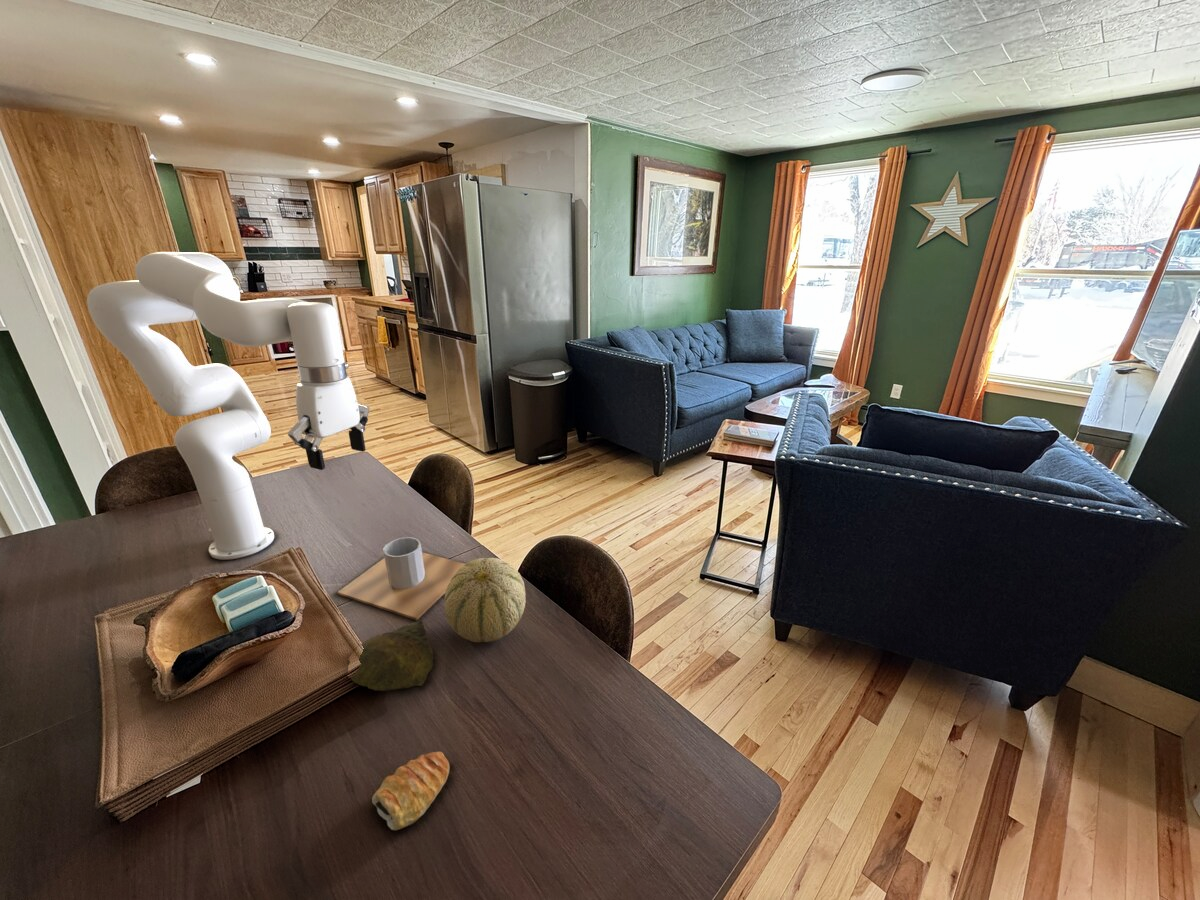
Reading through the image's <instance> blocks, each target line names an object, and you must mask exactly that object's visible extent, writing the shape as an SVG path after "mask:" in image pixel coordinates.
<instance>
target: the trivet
mask: <svg viewBox="0 0 1200 900" xmlns="http://www.w3.org/2000/svg"><path fill="white" fill-rule="evenodd" d="M422 556H423V563H424V570H425V577H424V579H423V580H422V582H420V583H419V584H418V585H416V586H413V587H411V588H406V589H397V588H394V587H392V586H391V585H390V584H389V580H388V574H387V568H386V563H385V557H383V558H382V559H381V560H379V561H378V562H376V563H375V564H374V565H371V567H369V568H368V569H367V570H366V571H364V572H363V573H361V574H360V575H359V576H358V577H355V578H354V579H353V580H352V581H351V582H349V583H347V584H346V585H345V586H344V587H343V588H341V589H340V590H338V591H337V595H339V596H342V597H345V598H347V599H351V600H353V601H357V602H360V603H363V604H365V605H369V606H371V607H375V608H378V609H381V610H384V611H388V612H390V613H394V614H396V615H400V616H402V617H406V618H408V619H412V620H414V621H419V619H420V618H421V617H422V616H423V615H424V614H425V613H426V612H427V611H428V610H429V609H430V608H432V607H433V606H434V605H435V604H436V603H437V601H438V600H440V599H441V598H442V597H443V596H445V593H446V589H447V586H448V584H449V583H450V581H451V579H452V578H453V576H454V575H455V574H456V572H457V571H458V570H459V569H460V568H461V567H463V566H464V565H465V564H466V563H463V562H460V561H457V560H452V559H448V558H445V557H442V556H438V555H434V554H431V553H427V552H423V551H422Z"/></svg>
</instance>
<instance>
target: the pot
mask: <svg viewBox="0 0 1200 900" xmlns="http://www.w3.org/2000/svg"><path fill="white" fill-rule="evenodd" d="M422 552H423V550H422V544H421V541H420V540H419V539H418V538H417V537H412V536H404V537H399V538H395V539H393V540H391V541H390V542H387V544H385V546H384V547H383V558H385V563H386V568H387V574H388V580H389V584H390V585H391V586H392V587H394V588H397V589H406V588H411V587H413V586H416V585H418V584H419V583H420V582H422V580H423V579H424V577H425V570H424V563H423V556H422Z"/></svg>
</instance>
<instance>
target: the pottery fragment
mask: <svg viewBox="0 0 1200 900" xmlns="http://www.w3.org/2000/svg"><path fill="white" fill-rule="evenodd" d="M361 645H362V646H363V648H364V649H363V652H362V654H361V655H360V658H359V661H360V663H361V665H360V667H359V668H358V670H357V671H356V672H355V674H354V675H353V676H352V677H351V678H350V679H351V681H352V682H353V683H354V684H357V685H358V686H362V687H365V688H367V689H369V690H373V691H375V692H379V691H381V692H385V691H386V692H387V691H388V692H389V691H396V690H398V689H399V690H401V689H404V690H405V689H410V688H414V687H422V686H423V685H424V684H425V682H426V680H427V679H428V678H427V677H428V674H429V673H430V672H431V670H432V669H433V666H434V658H435V655H434V650H433V649H432V646H431V644H430V641H429V642H428V637H427V631H426V628H425V625H424V623H423V620H422V619H420V620H417V621H416V622H413V623H409V624H406V625H403V626H401V627H399V628H397V629H394V630H390V631H387V632H384V633H380V634H379V635H375V636H373V637H372V638H369V639H368V640H366V641H363V642H362V643H361Z"/></svg>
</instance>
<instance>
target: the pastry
mask: <svg viewBox="0 0 1200 900" xmlns="http://www.w3.org/2000/svg"><path fill="white" fill-rule="evenodd" d="M450 768H451V767H450V762H449V760H448V759H447V758H446V756H445V754H444V753H443V752H442V751H432V752H430V753H426V754H420V755H419V756H418V757H417V758H415V759H410V760H409V761H408V762H407V763H406V764H403V765H401V766H399V767H398V768H396V770H395V771H394V773H393V774H392V775H387V776H386V777H384V779H383V781H382V782H381V785H380V787H379V788H378V789H377V790H376V791H375V793H374V794H373V795H372V797H371V803H372V805H374V806H375V808H376V811H377V814H378V815H379V817H381V818H382V819H383V820H385V821H386V824H387V827H388V828H389V829H390V830H391V831H399V830H402V829H404V828H406V827H408V826H409V827H410V826H411V825H413V824H414V823H416V822H417V821H418V820H419V819H420V818H421V817H422V816H423V815H424V814H425V813H426V811H427V810H428V809H429V808H430V806H431V804H433V802H434V801H435V799H436V797H437V796H438V794H439V793H440V792H441V791H442V788H443V787H444V786H445V784H446V782H447V780H448V777H449V774H450Z"/></svg>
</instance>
